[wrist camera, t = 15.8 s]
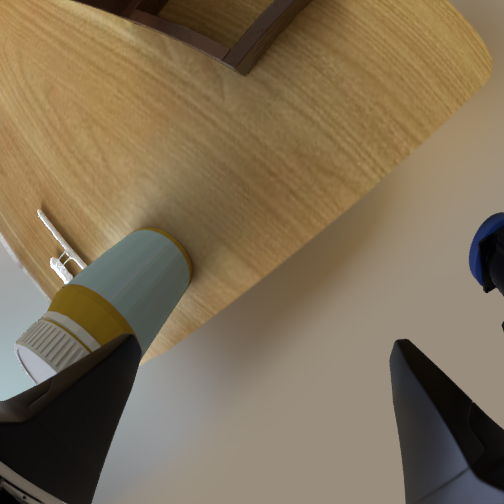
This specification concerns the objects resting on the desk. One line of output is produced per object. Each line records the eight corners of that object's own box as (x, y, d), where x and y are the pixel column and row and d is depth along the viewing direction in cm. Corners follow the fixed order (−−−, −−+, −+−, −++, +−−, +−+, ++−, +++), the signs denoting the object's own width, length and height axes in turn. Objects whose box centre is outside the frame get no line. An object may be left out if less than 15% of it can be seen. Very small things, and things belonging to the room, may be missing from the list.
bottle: (119, 265, 25) (16, 369, 12) (141, 209, 22) (1, 312, 8) (175, 306, 26) (96, 434, 12) (208, 255, 23) (109, 408, 9)
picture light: (116, 294, 27) (106, 305, 25) (103, 311, 29) (93, 322, 27) (40, 205, 24) (27, 212, 22) (32, 229, 26) (21, 236, 24)
